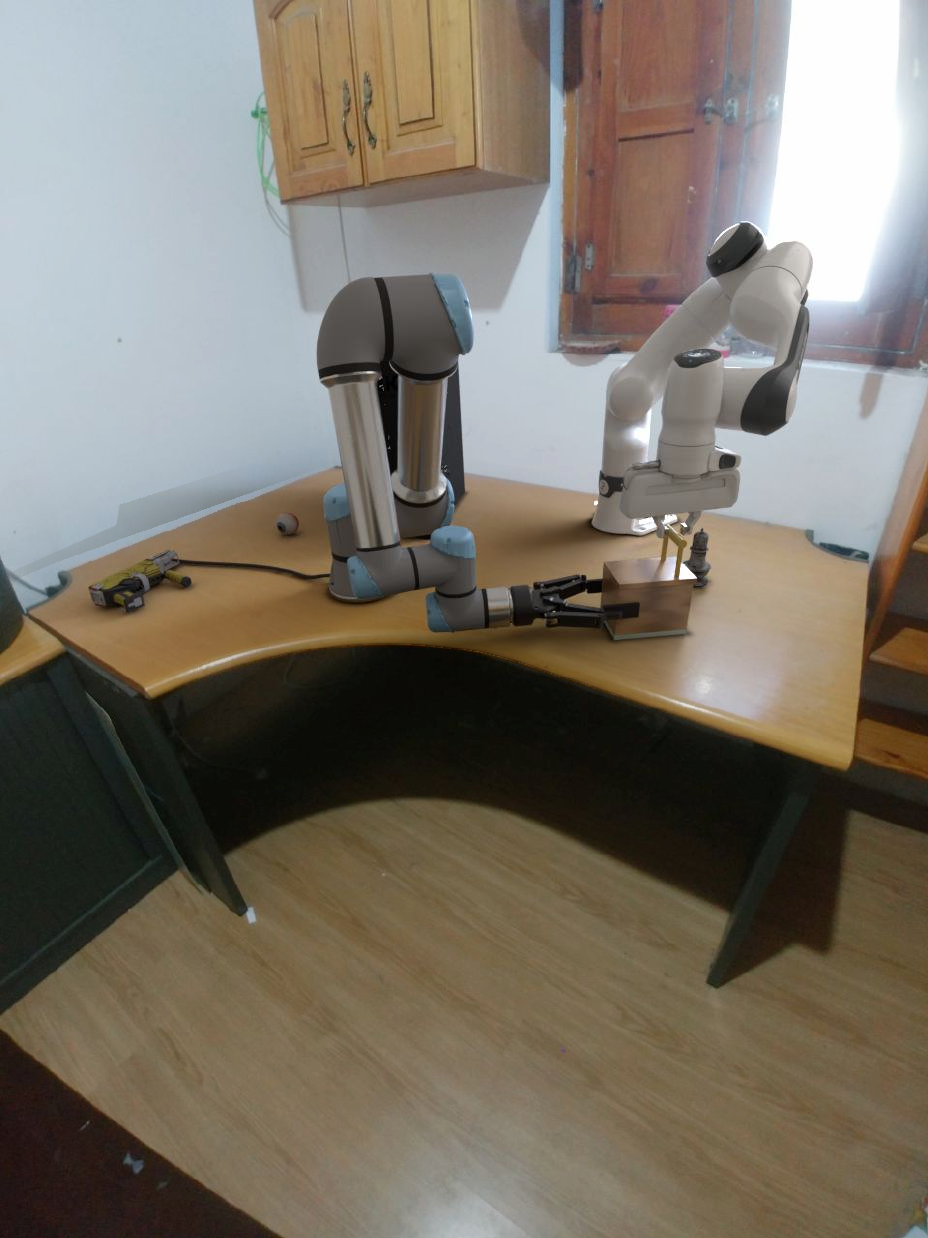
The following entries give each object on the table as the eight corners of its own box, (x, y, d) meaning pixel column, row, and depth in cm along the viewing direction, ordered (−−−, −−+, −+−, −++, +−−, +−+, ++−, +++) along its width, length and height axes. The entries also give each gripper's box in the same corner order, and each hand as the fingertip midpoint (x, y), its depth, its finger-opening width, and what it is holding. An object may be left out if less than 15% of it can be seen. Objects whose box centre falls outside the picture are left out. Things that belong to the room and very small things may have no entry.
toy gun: (215, 558, 145) (165, 547, 149) (137, 600, 125) (81, 586, 129) (218, 575, 148) (168, 564, 152) (142, 619, 128) (87, 605, 131)
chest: (666, 608, 120) (672, 561, 115) (685, 633, 111) (693, 583, 106) (599, 614, 119) (603, 566, 114) (614, 640, 111) (618, 590, 106)
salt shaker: (710, 587, 126) (720, 533, 120) (681, 586, 127) (688, 532, 121) (706, 574, 131) (715, 522, 125) (678, 573, 132) (685, 522, 126)
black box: (432, 538, 157) (416, 350, 135) (359, 535, 162) (333, 353, 139) (465, 491, 189) (456, 333, 166) (403, 490, 193) (387, 336, 171)
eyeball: (273, 537, 164) (268, 516, 161) (287, 528, 169) (282, 508, 166) (291, 539, 161) (286, 518, 158) (305, 530, 166) (301, 510, 163)
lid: (675, 560, 115) (681, 520, 110) (696, 583, 106) (703, 540, 102) (603, 566, 114) (606, 526, 110) (618, 589, 106) (622, 547, 101)
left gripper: (502, 596, 122) (610, 587, 123) (520, 656, 103) (648, 645, 104) (501, 562, 119) (613, 553, 120) (519, 618, 99) (652, 607, 100)
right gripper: (632, 469, 96) (625, 549, 103) (751, 456, 98) (736, 535, 105) (616, 458, 101) (611, 535, 108) (729, 446, 104) (716, 522, 111)
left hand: (629, 596), depth 112 cm, fingers closed on chest, 10 cm apart
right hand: (673, 535), depth 107 cm, fingers open, 3 cm apart
